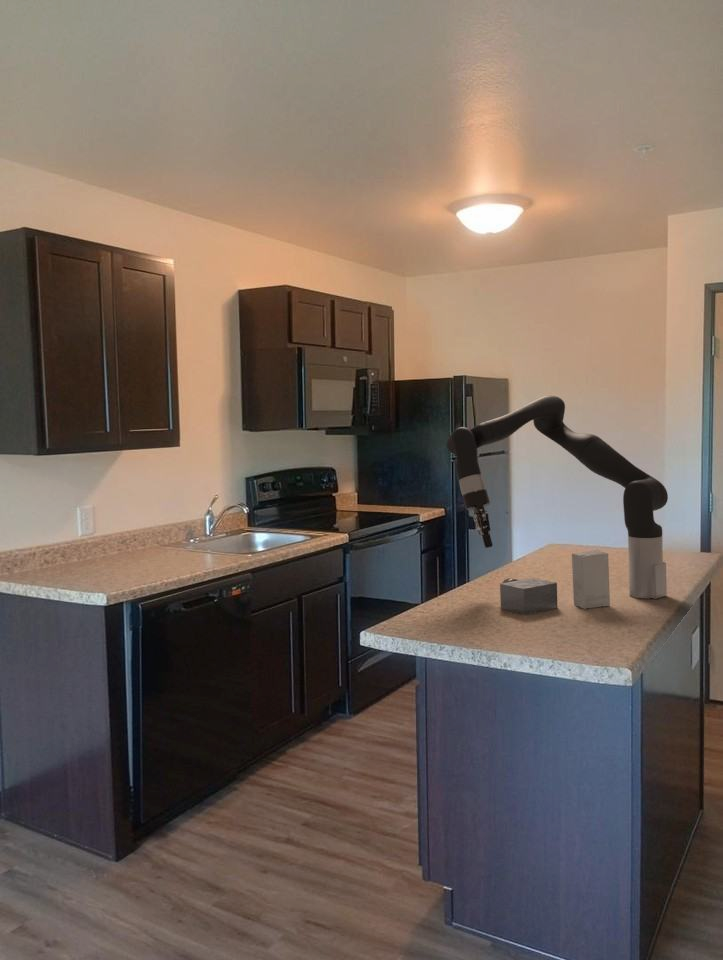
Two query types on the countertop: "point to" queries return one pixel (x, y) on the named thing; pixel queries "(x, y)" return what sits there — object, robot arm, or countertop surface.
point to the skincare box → (591, 579)
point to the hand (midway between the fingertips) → (489, 547)
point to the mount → (528, 595)
